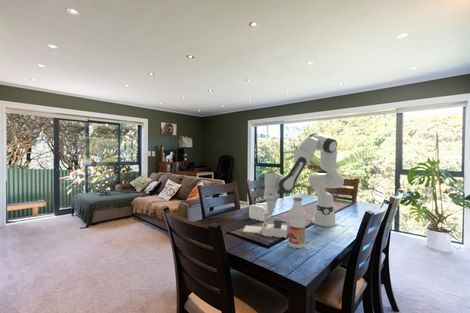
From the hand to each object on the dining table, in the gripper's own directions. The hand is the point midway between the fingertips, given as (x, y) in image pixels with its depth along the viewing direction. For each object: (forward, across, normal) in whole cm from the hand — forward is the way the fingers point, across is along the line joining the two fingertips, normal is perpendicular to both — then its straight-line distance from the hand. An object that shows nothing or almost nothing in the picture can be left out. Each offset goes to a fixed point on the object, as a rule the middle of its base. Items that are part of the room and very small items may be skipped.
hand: (270, 214), depth 154 cm
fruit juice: (+12, +19, +16) cm, 28 cm away
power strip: (+12, +5, +2) cm, 13 cm away
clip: (+6, 0, -2) cm, 7 cm away
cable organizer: (+11, -27, -10) cm, 31 cm away
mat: (+11, 0, -12) cm, 17 cm away
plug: (+9, +5, +6) cm, 12 cm away
